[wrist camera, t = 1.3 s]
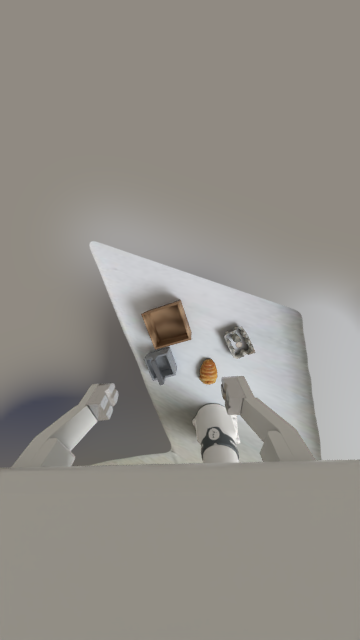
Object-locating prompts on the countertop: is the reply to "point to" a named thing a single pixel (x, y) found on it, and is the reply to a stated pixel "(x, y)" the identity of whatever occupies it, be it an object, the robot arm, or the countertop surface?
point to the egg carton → (239, 343)
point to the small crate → (161, 364)
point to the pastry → (208, 372)
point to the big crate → (167, 325)
